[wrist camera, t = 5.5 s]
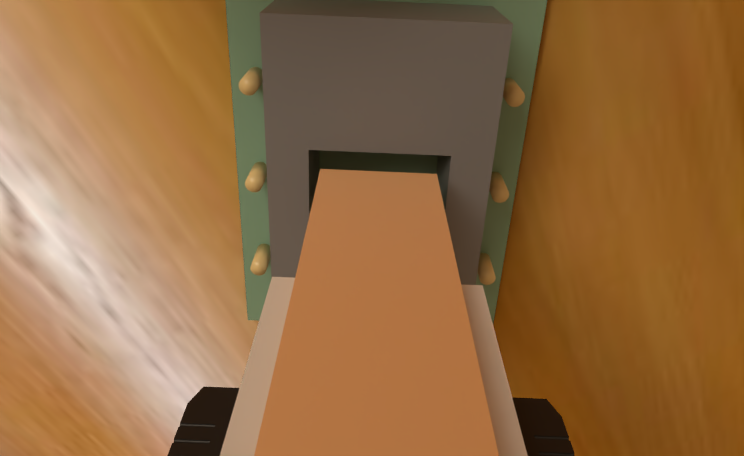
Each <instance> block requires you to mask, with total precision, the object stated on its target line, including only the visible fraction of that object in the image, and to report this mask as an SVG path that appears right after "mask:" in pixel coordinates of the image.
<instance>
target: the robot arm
mask: <svg viewBox="0 0 744 456" xmlns="http://www.w3.org/2000/svg"><path fill="white" fill-rule="evenodd" d="M294 281H295V278H291V277H272V279H271V282H270V286H269V289H268V292H267V296H266V299H265V303H264V306H263V309H262V313H261V316H260V320H259V323H258V327H257V330H256V333H255V337H254V340H253V344H252V347H251V350H250V354H249V357H248V361H247V364H246V368H245V371H244V374H243V378H242V381H241V385H240V388H223V387H203V388H202V389H201V390H200V391H199V392H198V393H197V394H196V395H195V396H194V397H193V398H192V400H191V401H190V402H189V403H188V404H187V407H186V409H185V412H184V415H183V417H182V420H181V422H180V427H178V430H177V433H176V435H175V438H174V443H172V446H171V448H170V451H169V453H168V456H254V454H255V450H256V445H257V441H258V437H259V432H260V428H261V424H262V419H263V415H264V411H265V406H266V402H267V398H268V393H269V389H270V385H271V380H272V376H273V372H274V367H275V363H276V359H277V354H278V350H279V346H280V341H281V337H282V333H283V328H284V324H285V320H286V315H287V311H288V307H289V302H290V298H291V294H292V289H293V285H294ZM461 286H462V290H463V295H464V299H465V304H466V308H467V313H468V317H469V322H470V326H471V331H472V336H473V340H474V345H475V349H476V354H477V358H478V363H479V367H480V372H481V376H482V381H483V385H484V390H485V395H486V399H487V404H488V408H489V413H490V417H491V422H492V426H493V431H494V435H495V440H496V444H497V449H498V453H499V456H574V451H573V448H572V445H571V442H570V441H569V436H568V434H567V431H566V428H565V425H564V422H563V419H562V417H561V415H560V414H559V413H558V412H557V411H556V410H555V409H554V407H553V406H552V405H551V404H550V403H549V402H548V400H547V399H533V398H512V395H511V391H510V387H509V383H508V380H507V376H506V372H505V368H504V365H503V361H502V357H501V353H500V349H499V346H498V342H497V338H496V334H495V330H494V327H493V323H492V319H491V315H490V312H489V308H488V304H487V300H486V296H485V293H484V289H483V285H462V284H461Z"/></svg>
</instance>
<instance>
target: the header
mask: <svg viewBox="0 0 744 456" xmlns="http://www.w3.org/2000/svg"><path fill="white" fill-rule="evenodd" d="M546 5H547V0H226V14H227V28H228V43H229V57H230V71H231V85H232V100H233V114H234V128H235V143H236V157H237V171H238V186H239V200H240V214H241V228H242V243H243V257H244V271H245V286H246V300H247V314H248V320H260V316H261V313H262V309H263V306H264V303H265V299H266V296H267V292H268V289H269V286H270V282H271V279H272V277H291V278H295V276H296V272H297V268H298V263H299V259H300V255H301V250H302V246H303V242H304V237H305V233H306V229H307V224H308V220H309V216H310V211H311V207H312V203H313V198H314V194H315V190H316V185H317V181H318V177H319V172H320V169H335V170H358V171H381V172H405V173H428V174H437V177H438V181H439V186H440V190H441V195H442V200H443V204H444V209H445V213H446V218H447V222H448V227H449V231H450V236H451V240H452V245H453V249H454V254H455V258H456V263H457V268H458V272H459V277H460V281H461V284H462V285H483V289H484V293H485V296H486V300H487V304H488V308H489V312H490V315H491V319H492V323H493V322H494V316H495V310H496V304H497V298H498V292H499V286H500V280H501V274H502V268H503V262H504V256H505V250H506V244H507V238H508V232H509V226H510V220H511V214H512V208H513V202H514V196H515V190H516V184H517V178H518V172H519V166H520V160H521V154H522V148H523V143H524V137H525V131H526V125H527V119H528V113H529V107H530V101H531V95H532V89H533V83H534V77H535V71H536V65H537V59H538V53H539V47H540V41H541V35H542V29H543V23H544V17H545V11H546Z"/></svg>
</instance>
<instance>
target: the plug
mask: <svg viewBox="0 0 744 456" xmlns="http://www.w3.org/2000/svg"><path fill="white" fill-rule="evenodd" d="M254 456H499V453H498V449H497V444H496V440H495V435H494V431H493V426H492V422H491V417H490V413H489V408H488V404H487V399H486V395H485V390H484V385H483V381H482V376H481V372H480V367H479V363H478V358H477V354H476V349H475V345H474V340H473V336H472V331H471V326H470V322H469V317H468V313H467V308H466V304H465V299H464V295H463V290H462V286H461V281H460V277H459V272H458V268H457V263H456V258H455V254H454V249H453V245H452V240H451V236H450V231H449V227H448V222H447V218H446V213H445V209H444V204H443V200H442V195H441V190H440V186H439V181H438V177H437V174H428V173H405V172H381V171H358V170H335V169H320V172H319V177H318V181H317V185H316V190H315V194H314V198H313V203H312V207H311V211H310V216H309V220H308V224H307V229H306V233H305V237H304V242H303V246H302V250H301V255H300V259H299V263H298V268H297V272H296V276H295V281H294V285H293V289H292V294H291V298H290V302H289V307H288V311H287V315H286V320H285V324H284V328H283V333H282V337H281V341H280V346H279V350H278V354H277V359H276V363H275V367H274V372H273V376H272V380H271V385H270V389H269V393H268V398H267V402H266V406H265V411H264V415H263V419H262V424H261V428H260V432H259V437H258V441H257V445H256V450H255V454H254Z"/></svg>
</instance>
